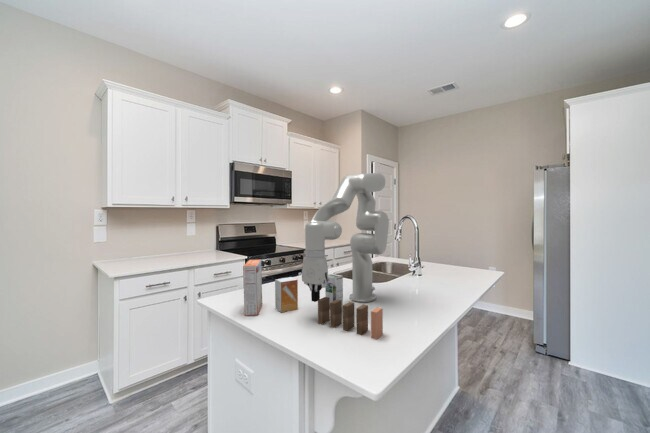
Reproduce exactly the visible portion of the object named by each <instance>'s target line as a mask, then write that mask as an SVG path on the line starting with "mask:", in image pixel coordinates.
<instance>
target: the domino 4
mask: <svg viewBox="0 0 650 433" xmlns="http://www.w3.org/2000/svg"><path fill="white" fill-rule="evenodd" d="M355 308H356V309H355V311H356V312H355V313H356V319H355V320H356V322H355V323H356V326H355V327H356V335H358V336H363V335H364V334H366V333H367V332H368V331H369V306H368V304H362V305H360V306H358V307H355Z"/></svg>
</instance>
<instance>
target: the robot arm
mask: <svg viewBox="0 0 650 433" xmlns="http://www.w3.org/2000/svg"><path fill="white" fill-rule="evenodd" d="M385 186H386V178H385V176H384V175H383V173H381V172H373V173H369V172H368V173H367V172H366V173H357V174H348V175H346V176H344V177H343V178H342V179H341V182H340V183H339V185H338V186H337V189H336V191H335V193H334V195H333V196H332V198H331V199H330V200H328V201H327V202H326V203H325V204H323V205H322V206H321V207H320V208H319V209H317V211H316V212H315V213H314V214H313V216H312V218H311V220H310V222H307V223H306V224H305V227H304V229H305V231H304V232H305V234H304V235H305V236H304V238H305V239H304V240H305V247H304V248H305V249H304V250H303V253H304V254H305V256H304V257H303V261H302V266H301V267H302V268H301V281H302V282H303V284H304V285H305V286H308V288H309V291H310V292H311V293H310V295H311V302H314V303H316V302H318V300H319V299H321V292H320V291H322V289H325V287H327V282H328V275H329V269H328V261H327V258H326V253H325V252H326V251H325V250H326V249H325V248H326V246H325V244H326V242H325V240H329V241H333V240H337V239H339V238H340V236H341V235H342V232H343V228H342V226H341V224H340V223H339V222H337V221H330V219H331V218H332V217H333V218H334V216H337V215H340V214H343V213H344V212H347V211H348V210H349V209H350V208H351V205H352V203H353V201H354V199H355V197H357V202H358V204H357V212H356V219H355V226H356V228H357V229H358V230H360V231H364V232H358V233H357V232H356V233H355V234H352V236H351V237H350V241H349V246H350V250H351V251H350V252H351V256H352V257H351V260H352V261H351V262H352V264H351V265H352V266H351V268H352V273H351V274H352V293H351V294H349V300H351V301H352V302H357V303H370V302H373V301H375V300H376V295H375V294H374V293H373V291H375V290H376V289H375V287H374V286H373V260H372V257H371V256H370V255H376V256H377V255H382V254H384V253H385V251H386V249H387V244H388V237H389V236H388V235H389V227H390V222H389V221H390V219H389V217H388V214H387V213H386V212H385V211H381V210H376V199H375V197H374V195H373V193H377V192H380V191H382V190H384V189H385ZM365 231H366V233H365ZM367 231H368V232H374V233H368V232H367Z"/></svg>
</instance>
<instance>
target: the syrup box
mask: <svg viewBox="0 0 650 433" xmlns="http://www.w3.org/2000/svg"><path fill="white" fill-rule="evenodd" d="M343 284H344V276H343V275H339V274H336V273H330V274H329V273H328V282H327V287H325V288H324V289H325V295H324V297H329V298H330V302H332V301H334V300H336V299H339V300H342V309H343V305H344V302H343V300H344V294H343V293H344V288H343V287H344V285H343Z"/></svg>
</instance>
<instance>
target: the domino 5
mask: <svg viewBox="0 0 650 433" xmlns="http://www.w3.org/2000/svg"><path fill="white" fill-rule="evenodd" d="M383 310H384V309H383V307H377V306H376V308H374V309H372V310H371V311H370V338H371V339H375V340H378V339H379V338H380V337H382V335H383V334H384V331H383V328H384V326H383V322H384V320H383V319H384V317H383V315H384V313H383Z"/></svg>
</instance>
